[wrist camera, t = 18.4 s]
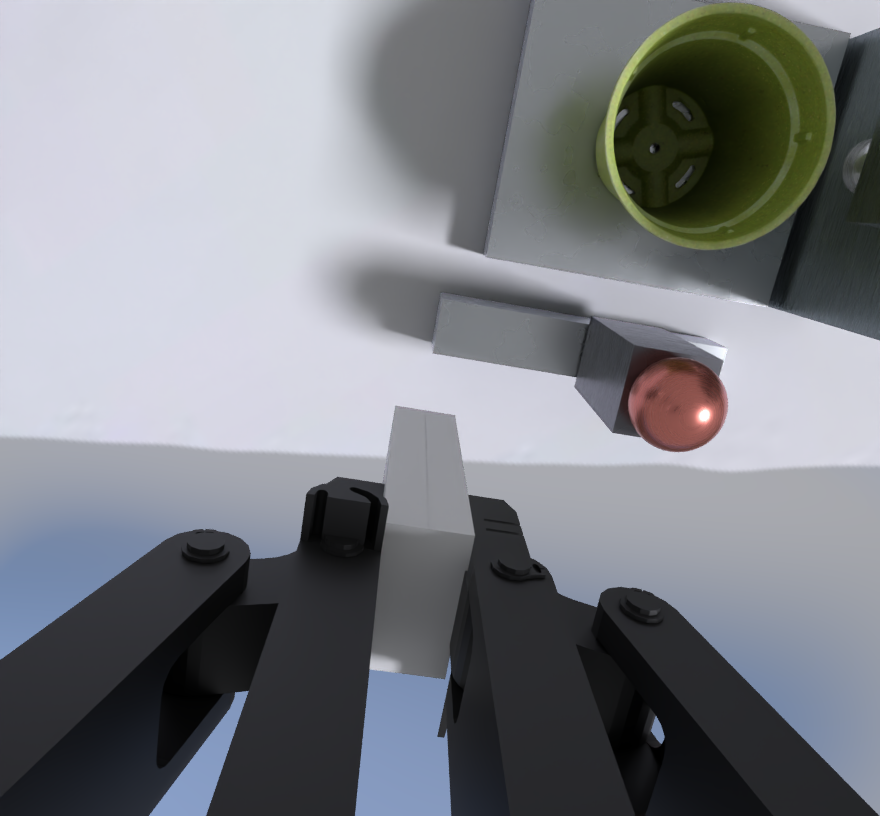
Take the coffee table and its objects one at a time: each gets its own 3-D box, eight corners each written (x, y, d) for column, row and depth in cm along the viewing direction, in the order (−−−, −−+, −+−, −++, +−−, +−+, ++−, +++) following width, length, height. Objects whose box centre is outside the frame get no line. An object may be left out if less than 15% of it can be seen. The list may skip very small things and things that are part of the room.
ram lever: (574, 387, 39) (633, 457, 28) (591, 316, 38) (658, 361, 27) (644, 398, 39) (728, 472, 29) (662, 328, 38) (757, 378, 27)
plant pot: (641, 6, 35) (710, -55, 27) (779, 125, 37) (885, 103, 28) (527, 169, 37) (558, 160, 29) (663, 274, 39) (729, 294, 30)
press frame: (431, 342, 41) (442, 469, 22) (496, -28, 36) (587, -298, 17) (802, 404, 43) (1119, 574, 24) (916, 60, 38) (1449, -91, 18)
